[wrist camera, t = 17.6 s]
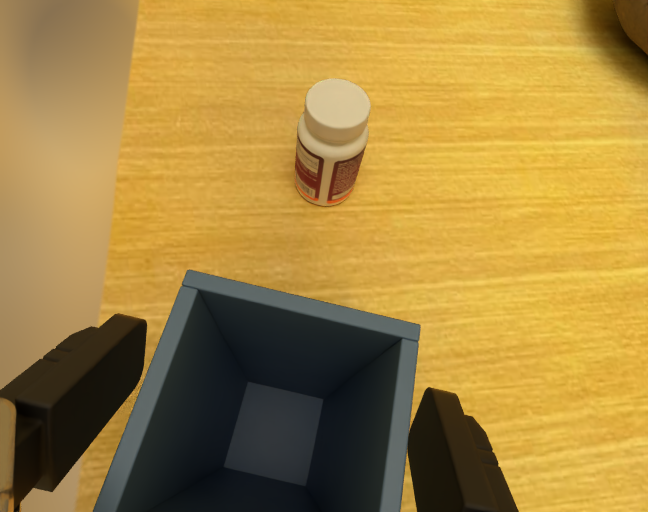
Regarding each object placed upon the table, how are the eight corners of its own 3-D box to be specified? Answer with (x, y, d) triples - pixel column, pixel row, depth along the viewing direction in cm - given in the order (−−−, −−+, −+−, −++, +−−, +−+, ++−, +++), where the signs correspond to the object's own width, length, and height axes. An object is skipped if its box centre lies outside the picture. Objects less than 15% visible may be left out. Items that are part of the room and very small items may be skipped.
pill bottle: (354, 160, 33) (377, 77, 25) (352, 210, 31) (377, 137, 23) (296, 154, 32) (302, 68, 25) (291, 204, 31) (296, 127, 23)
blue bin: (310, 495, 22) (387, 631, 7) (215, 472, 22) (73, 559, 7) (330, 394, 24) (421, 324, 9) (244, 374, 24) (187, 268, 9)
